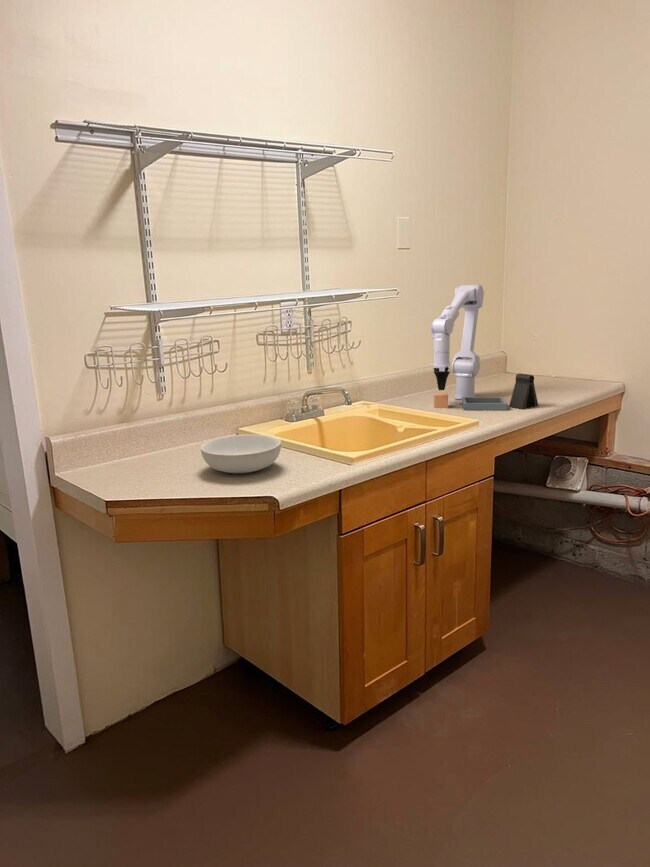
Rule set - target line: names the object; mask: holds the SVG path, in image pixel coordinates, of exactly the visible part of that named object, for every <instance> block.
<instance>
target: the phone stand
mask: <svg viewBox="0 0 650 867" xmlns="http://www.w3.org/2000/svg"><path fill="white" fill-rule="evenodd" d="M538 403H539V402H538V396H537V392H536V386H535V375H533V374H526V373H517V374H516V375H515V383H514V386H513V390H512V394H511V398H510V402H509V405H508V407H509V408H511V407H512V409H517V408H518V409H517V410H522V409H523V410H527V409H526V408H528V409H532V408H531V407H533V408H536V407H535V406H538V407H539V404H538Z"/></svg>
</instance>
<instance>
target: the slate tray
mask: <svg viewBox="0 0 650 867" xmlns="http://www.w3.org/2000/svg"><path fill="white" fill-rule="evenodd" d="M461 406H462V409H463V411H464V410H467V411H468V412H469V411H474V412H475V411H477V412H478V411H479V412H480V411H484V410H486V411H488V410H489V411H492V412H493V411H501V412H502V411H504V410H505V411H506V410H507V409H508V408H507V406H508V404H507V402H506V400H505V399H504V397H502V396H498V397H497V396H490V397H489V396H488V397H487V396H486V397H484V396H483V397H481V396H480V397H479V396H475V397H462V399H461Z"/></svg>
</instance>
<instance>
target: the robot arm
mask: <svg viewBox="0 0 650 867" xmlns="http://www.w3.org/2000/svg"><path fill="white" fill-rule="evenodd" d="M484 294H485V292H484V288H483V286H482V285H481V284H480V283H479V284H458V285H456V287H455V289H454V297H453V300H452V301H451V304H450V305H446V307H444V309H443V311H442V312H441V314H440V315H439V317H438V318H435V319H433V320H432V322H431V326H430V330H431V336H432V340H433V362H431V363H430V366H431V367H433V374H434V375H435V377H436V384H437V388H438V391H445V389H446V384H447V380H448V377H449V376H450V375H449V374H450V373H451V372H450V371H449V367H450V366H451V371H452V373H453V374H454V376H455V394H454V395H453V396H454V399H455V400H462V397H476V395H475V388H476V387H475V383H476V382H475V378H476V376H477V375H478V374H479V373H480V369H481V364H480V356H479V354H477V353H476V352H475V351H474V349H475V342H476V341H475V340H476V333H477V332H476V331H477V326H478V325H477V324H478V316H479V309H481V308H482V307H483V303H484ZM461 308H463V309H464V311H465V312H464V320H463V330H462V335H461V344H460V345H461V346H460V350H459V351H458V352H456V353H455V354H454V356H453V359H452V363H450V353H451V352H450V350H451V349H450V348H451V347H450V346H451V341H450V340H451V339H450V338H451V334H452V333H453V331H454V326H455V322H456V320H457V319H458V318H459V315H460V309H461Z"/></svg>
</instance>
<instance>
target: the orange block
mask: <svg viewBox="0 0 650 867" xmlns="http://www.w3.org/2000/svg"><path fill="white" fill-rule="evenodd" d="M434 408H437V409H438V408H440V409H441V408H445V409H446V408H448V409H449V394H448V392H434V393H433V409H434ZM438 410H439V409H438Z"/></svg>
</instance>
